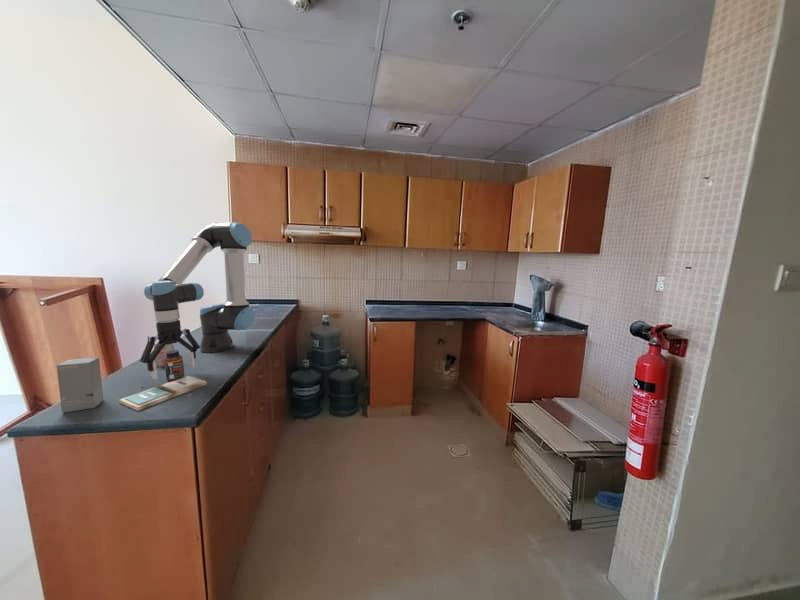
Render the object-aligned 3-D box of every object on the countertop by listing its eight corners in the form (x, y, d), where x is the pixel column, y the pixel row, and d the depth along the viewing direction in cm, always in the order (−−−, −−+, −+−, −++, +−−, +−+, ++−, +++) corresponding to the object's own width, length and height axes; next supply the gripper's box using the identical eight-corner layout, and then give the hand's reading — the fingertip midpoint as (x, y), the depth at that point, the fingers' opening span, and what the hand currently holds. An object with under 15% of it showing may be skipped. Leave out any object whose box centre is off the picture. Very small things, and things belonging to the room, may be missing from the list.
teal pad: (155, 388, 112) (155, 387, 111) (169, 393, 108) (169, 392, 107) (125, 399, 104) (124, 397, 104) (138, 405, 100) (138, 403, 100)
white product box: (159, 363, 140) (156, 342, 138) (176, 362, 142) (173, 341, 140) (155, 366, 136) (152, 345, 135) (173, 365, 138) (170, 343, 137)
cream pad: (187, 377, 121) (187, 376, 121) (201, 381, 117) (201, 380, 117) (161, 386, 113) (161, 385, 113) (175, 391, 109) (175, 389, 109)
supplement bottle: (175, 382, 120) (171, 354, 118) (162, 380, 121) (158, 353, 119) (188, 375, 126) (185, 349, 124) (176, 374, 127) (172, 348, 125)
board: (188, 378, 123) (187, 374, 123) (206, 384, 118) (206, 379, 117) (119, 402, 104) (118, 398, 103) (137, 410, 98) (137, 405, 98)
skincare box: (61, 413, 97) (52, 366, 94) (74, 403, 103) (65, 359, 101) (96, 408, 100) (88, 362, 98) (106, 398, 107) (99, 355, 104)
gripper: (195, 314, 132) (200, 361, 135) (123, 326, 110) (131, 382, 113) (206, 315, 129) (210, 363, 132) (134, 328, 107) (142, 385, 110)
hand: (174, 372), depth 123 cm, fingers open, 13 cm apart
